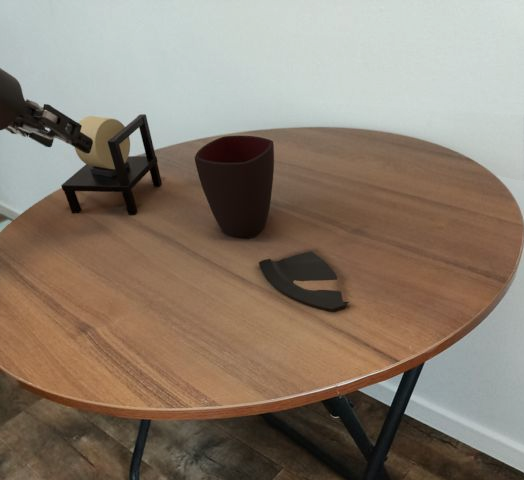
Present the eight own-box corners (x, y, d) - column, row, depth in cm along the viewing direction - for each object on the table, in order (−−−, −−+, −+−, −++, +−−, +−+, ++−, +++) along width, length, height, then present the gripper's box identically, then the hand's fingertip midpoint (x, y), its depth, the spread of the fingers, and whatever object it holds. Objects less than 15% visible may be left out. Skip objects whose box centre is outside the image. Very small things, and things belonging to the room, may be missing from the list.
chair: (71, 213, 88) (44, 142, 80) (103, 182, 97) (82, 115, 89) (135, 215, 85) (114, 141, 77) (163, 183, 94) (146, 114, 86)
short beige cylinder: (84, 177, 86) (67, 125, 81) (115, 160, 91) (101, 109, 85) (105, 181, 84) (88, 128, 79) (136, 163, 89) (122, 112, 83)
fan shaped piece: (297, 331, 59) (297, 319, 58) (257, 272, 69) (255, 262, 68) (363, 309, 61) (363, 298, 60) (314, 255, 71) (313, 245, 70)
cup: (199, 239, 77) (183, 159, 69) (244, 198, 86) (235, 123, 78) (258, 250, 73) (248, 167, 65) (299, 206, 82) (294, 128, 74)
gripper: (16, 58, 62) (111, 124, 76) (-54, 54, 68) (45, 116, 83) (-1, 119, 62) (96, 173, 77) (-69, 110, 68) (32, 162, 83)
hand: (70, 144), depth 80 cm, fingers open, 8 cm apart
